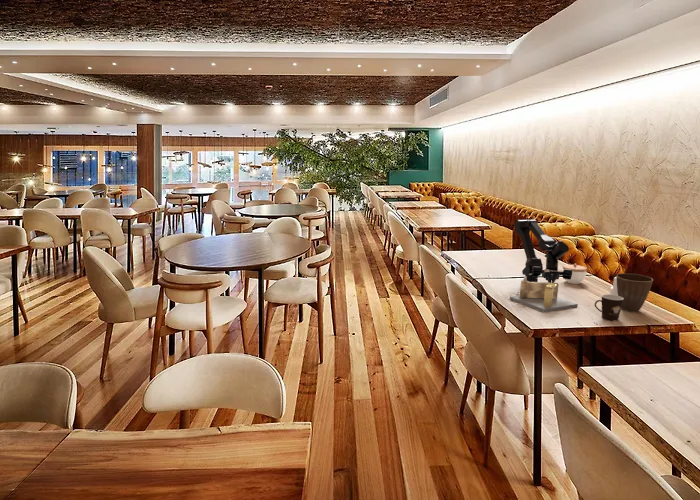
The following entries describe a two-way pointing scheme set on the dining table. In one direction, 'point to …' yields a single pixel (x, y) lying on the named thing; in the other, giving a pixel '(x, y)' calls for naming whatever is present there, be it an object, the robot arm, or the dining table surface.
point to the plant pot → (633, 290)
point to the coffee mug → (610, 307)
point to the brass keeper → (549, 294)
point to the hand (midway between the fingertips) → (551, 287)
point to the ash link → (535, 289)
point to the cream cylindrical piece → (614, 288)
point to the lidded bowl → (576, 273)
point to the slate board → (539, 302)
